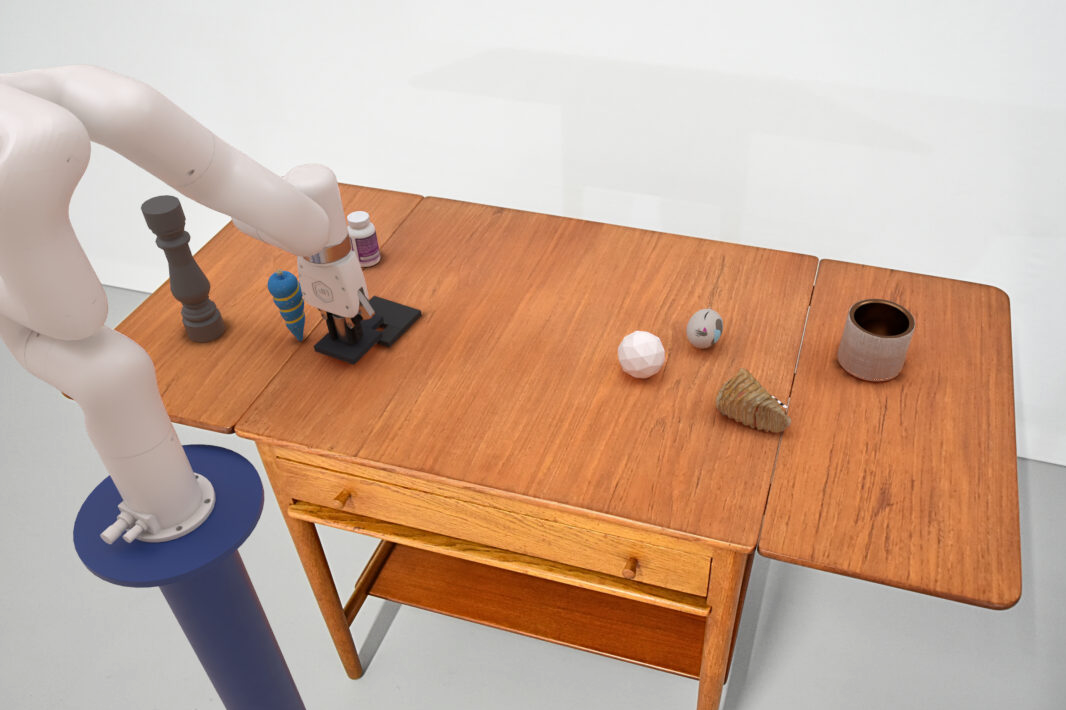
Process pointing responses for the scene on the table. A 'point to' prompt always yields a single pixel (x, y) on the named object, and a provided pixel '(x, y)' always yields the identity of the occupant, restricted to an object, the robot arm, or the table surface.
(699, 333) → the figurine
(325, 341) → the tab pad
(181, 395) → the table surface
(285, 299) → the ornament
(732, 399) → the fossil
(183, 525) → the robot arm
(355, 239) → the pill bottle
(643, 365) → the geometric ball
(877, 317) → the planter
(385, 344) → the notch pad
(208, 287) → the candle holder
